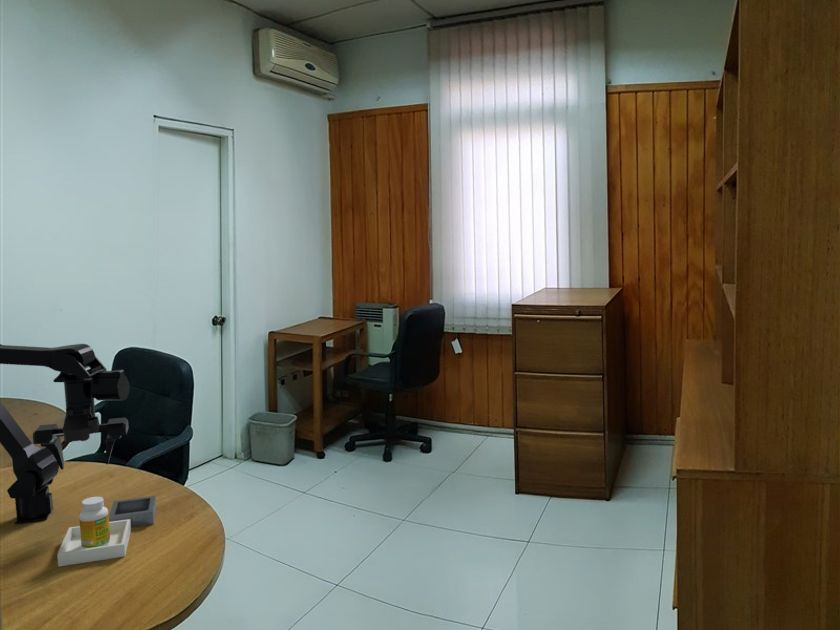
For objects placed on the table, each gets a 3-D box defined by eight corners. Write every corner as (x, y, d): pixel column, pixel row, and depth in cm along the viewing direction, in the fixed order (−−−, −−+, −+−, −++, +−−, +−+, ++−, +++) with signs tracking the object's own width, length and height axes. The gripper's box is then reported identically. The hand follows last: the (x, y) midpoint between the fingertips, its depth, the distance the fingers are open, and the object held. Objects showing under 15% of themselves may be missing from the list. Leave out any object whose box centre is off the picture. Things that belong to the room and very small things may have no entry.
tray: (58, 566, 125) (57, 554, 124) (70, 538, 136) (69, 527, 136) (125, 556, 129) (124, 544, 128) (131, 530, 140) (130, 519, 140)
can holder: (109, 530, 140) (108, 517, 139) (114, 513, 148) (113, 501, 148) (153, 524, 143) (152, 511, 142) (156, 507, 151) (155, 495, 151)
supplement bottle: (98, 552, 129) (94, 506, 128) (75, 549, 130) (71, 504, 129) (116, 539, 134) (112, 496, 133) (93, 537, 135) (90, 494, 134)
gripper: (23, 414, 133) (29, 485, 135) (120, 405, 139) (125, 473, 141) (36, 400, 143) (42, 466, 145) (126, 393, 149) (130, 457, 151)
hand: (85, 466), depth 145 cm, fingers open, 9 cm apart
